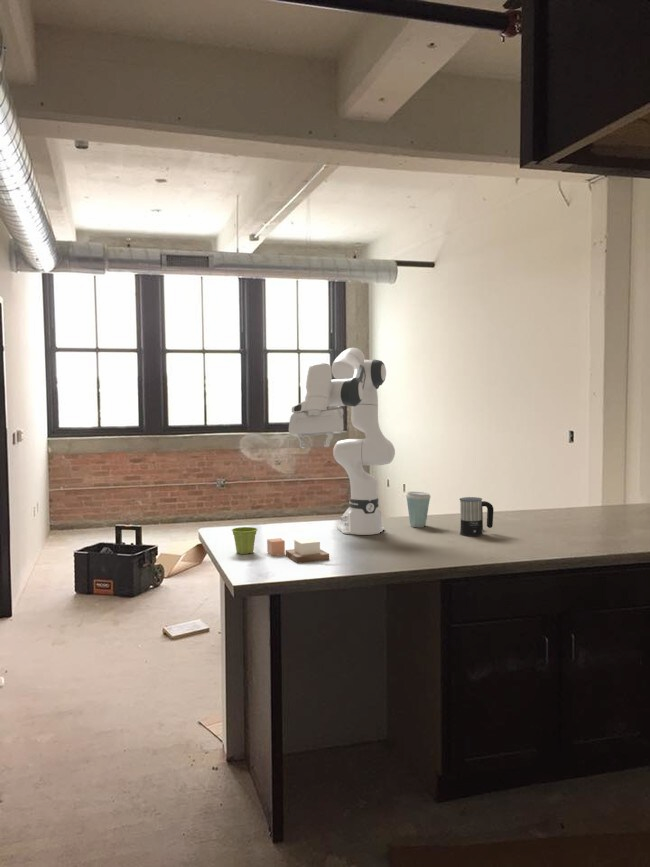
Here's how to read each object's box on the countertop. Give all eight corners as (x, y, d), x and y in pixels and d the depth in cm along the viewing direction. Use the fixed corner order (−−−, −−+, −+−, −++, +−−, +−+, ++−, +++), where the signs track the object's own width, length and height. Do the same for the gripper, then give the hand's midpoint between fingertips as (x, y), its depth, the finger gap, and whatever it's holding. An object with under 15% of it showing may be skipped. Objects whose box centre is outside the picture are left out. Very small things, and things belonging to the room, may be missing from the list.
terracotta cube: (267, 552, 257) (267, 539, 257) (280, 551, 259) (280, 538, 258) (271, 555, 252) (271, 542, 252) (284, 554, 254) (284, 540, 254)
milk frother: (468, 537, 281) (468, 500, 280) (445, 530, 295) (445, 495, 294) (497, 534, 286) (497, 498, 285) (473, 527, 301) (474, 493, 300)
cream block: (294, 550, 250) (294, 539, 250) (312, 549, 253) (312, 538, 253) (301, 555, 244) (301, 543, 243) (319, 553, 246) (319, 541, 246)
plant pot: (234, 549, 262) (233, 526, 262) (259, 549, 262) (259, 526, 261) (230, 555, 253) (229, 531, 252) (256, 555, 252) (255, 531, 252)
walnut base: (285, 555, 252) (285, 550, 252) (316, 552, 256) (316, 547, 256) (297, 563, 241) (296, 557, 240) (329, 559, 245) (329, 553, 245)
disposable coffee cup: (420, 522, 312) (420, 489, 312) (435, 526, 303) (435, 492, 302) (401, 525, 307) (401, 491, 306) (416, 529, 298) (416, 494, 297)
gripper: (348, 407, 238) (345, 447, 235) (297, 412, 249) (294, 450, 245) (339, 402, 233) (336, 443, 230) (287, 407, 244) (284, 446, 240)
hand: (314, 447), depth 238 cm, fingers open, 8 cm apart
